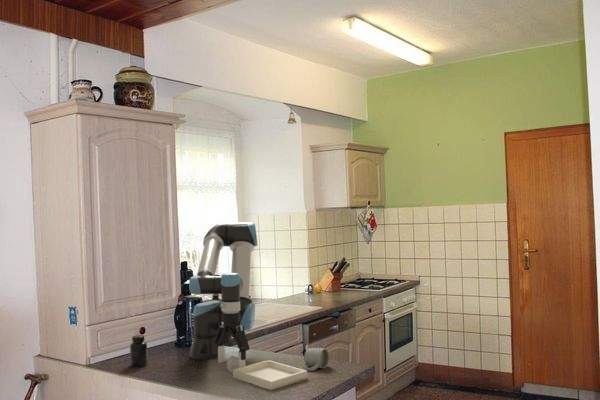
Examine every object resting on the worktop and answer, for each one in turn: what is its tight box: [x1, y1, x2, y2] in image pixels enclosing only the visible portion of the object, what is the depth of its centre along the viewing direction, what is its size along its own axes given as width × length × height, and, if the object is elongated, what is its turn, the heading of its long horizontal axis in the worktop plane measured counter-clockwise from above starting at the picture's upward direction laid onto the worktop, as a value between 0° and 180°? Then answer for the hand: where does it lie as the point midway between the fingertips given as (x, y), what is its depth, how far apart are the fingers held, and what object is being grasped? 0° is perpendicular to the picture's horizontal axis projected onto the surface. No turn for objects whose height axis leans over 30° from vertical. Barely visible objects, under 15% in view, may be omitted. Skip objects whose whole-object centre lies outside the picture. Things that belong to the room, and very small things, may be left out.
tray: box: [232, 359, 308, 391], centre depth 212 cm, size 22×18×3 cm
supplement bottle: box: [129, 334, 148, 368], centre depth 233 cm, size 7×7×12 cm
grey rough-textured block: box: [226, 355, 239, 373], centre depth 225 cm, size 10×6×6 cm, turn 169°
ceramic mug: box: [303, 347, 330, 372], centre depth 224 cm, size 11×8×8 cm
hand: (231, 365), depth 225 cm, fingers open, 13 cm apart
